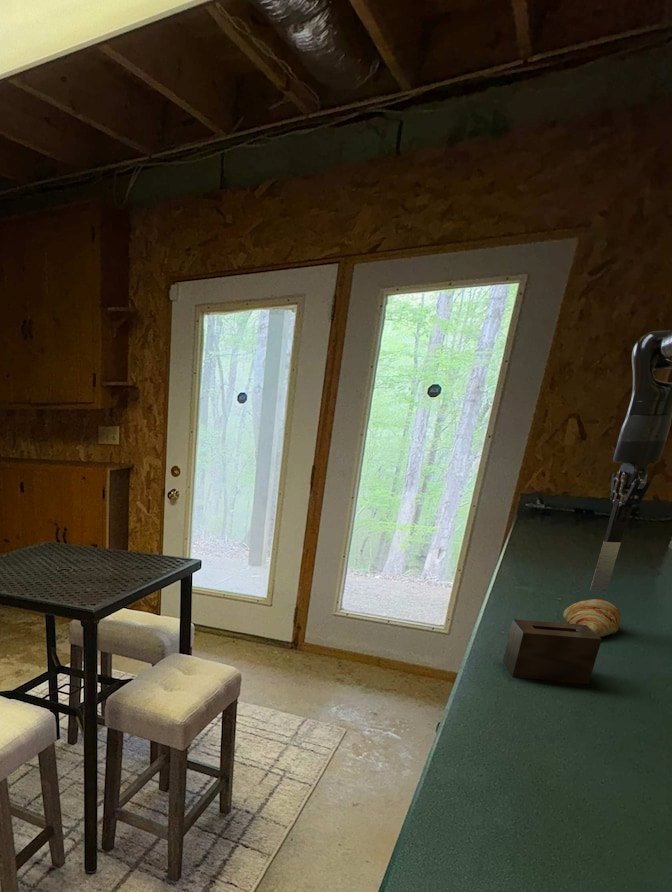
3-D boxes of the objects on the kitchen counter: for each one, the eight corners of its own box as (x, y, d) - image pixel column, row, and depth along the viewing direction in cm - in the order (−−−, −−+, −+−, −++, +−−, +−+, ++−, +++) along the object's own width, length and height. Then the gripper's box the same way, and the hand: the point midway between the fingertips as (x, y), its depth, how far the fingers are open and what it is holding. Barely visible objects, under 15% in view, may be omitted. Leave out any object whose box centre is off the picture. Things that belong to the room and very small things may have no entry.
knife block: (573, 667, 123) (586, 624, 120) (588, 684, 116) (602, 639, 112) (502, 661, 127) (512, 619, 124) (512, 676, 120) (523, 632, 117)
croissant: (599, 658, 135) (631, 631, 130) (554, 630, 139) (583, 603, 134) (601, 629, 150) (630, 604, 145) (560, 605, 154) (587, 579, 149)
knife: (604, 589, 140) (631, 498, 133) (608, 591, 139) (635, 500, 131) (588, 588, 141) (613, 498, 134) (591, 590, 140) (617, 499, 132)
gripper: (681, 439, 121) (653, 529, 127) (650, 436, 133) (626, 518, 139) (633, 440, 124) (608, 528, 130) (607, 437, 135) (585, 517, 142)
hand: (618, 522), depth 134 cm, fingers closed on knife, 2 cm apart
